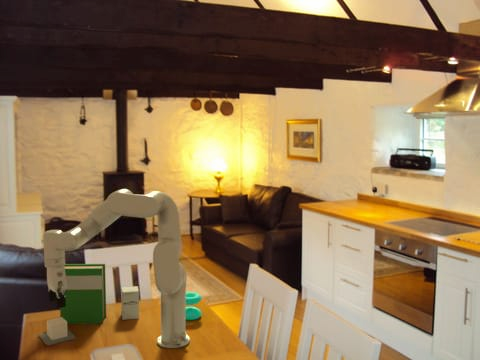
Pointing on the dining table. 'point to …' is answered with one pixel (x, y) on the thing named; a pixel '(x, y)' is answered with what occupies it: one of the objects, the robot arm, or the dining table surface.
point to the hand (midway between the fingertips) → (57, 304)
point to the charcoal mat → (49, 342)
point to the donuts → (192, 299)
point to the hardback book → (84, 294)
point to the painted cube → (57, 328)
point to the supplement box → (130, 302)
